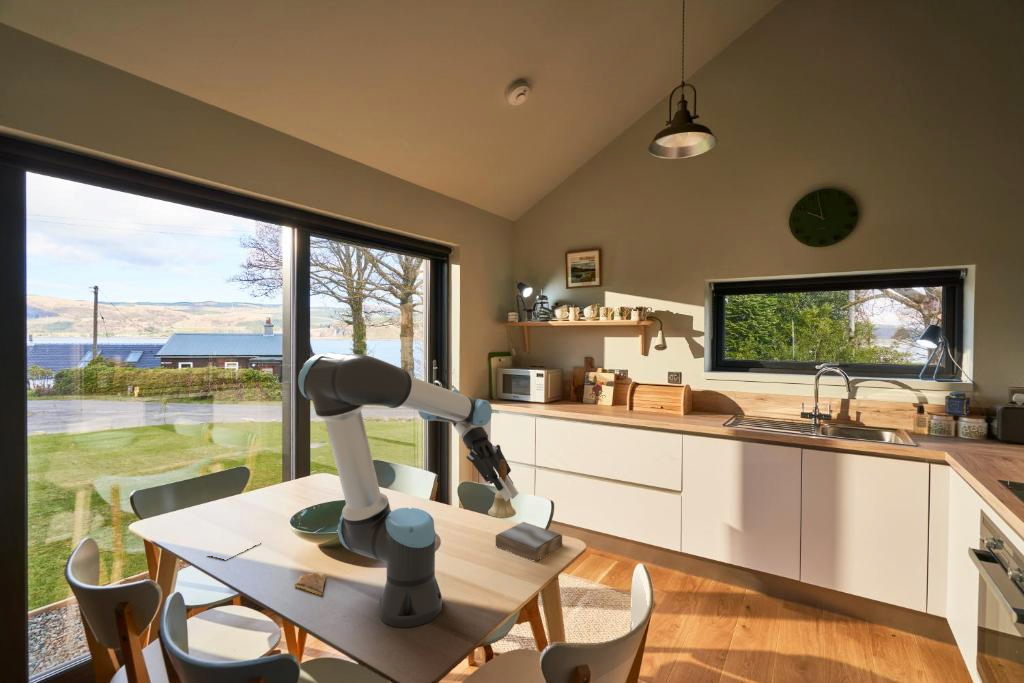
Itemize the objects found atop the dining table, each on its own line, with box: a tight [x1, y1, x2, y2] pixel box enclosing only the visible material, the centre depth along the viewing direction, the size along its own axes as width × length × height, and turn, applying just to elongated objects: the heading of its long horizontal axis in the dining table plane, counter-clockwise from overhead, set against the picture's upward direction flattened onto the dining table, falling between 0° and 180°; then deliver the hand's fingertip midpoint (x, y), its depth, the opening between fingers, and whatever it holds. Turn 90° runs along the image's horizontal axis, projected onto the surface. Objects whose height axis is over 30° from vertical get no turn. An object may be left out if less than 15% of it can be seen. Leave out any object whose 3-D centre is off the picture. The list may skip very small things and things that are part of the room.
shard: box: [294, 572, 326, 596], centre depth 128 cm, size 11×8×2 cm
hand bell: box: [487, 459, 517, 519], centre depth 142 cm, size 8×8×16 cm
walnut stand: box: [495, 521, 563, 562], centre depth 152 cm, size 14×16×4 cm
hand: (512, 497), depth 140 cm, fingers closed on hand bell, 2 cm apart
